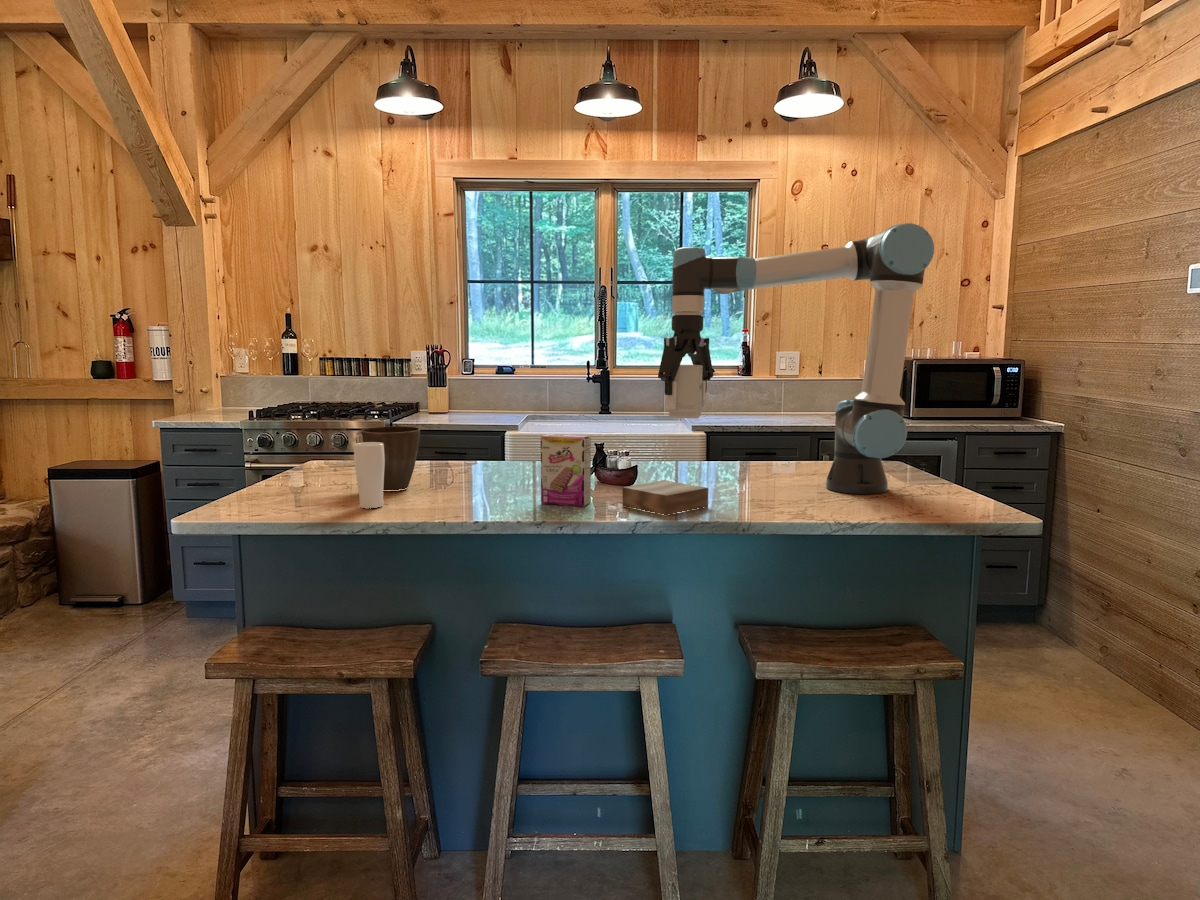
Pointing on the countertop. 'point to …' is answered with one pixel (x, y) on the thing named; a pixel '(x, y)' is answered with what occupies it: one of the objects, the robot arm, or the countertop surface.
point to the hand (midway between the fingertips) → (685, 407)
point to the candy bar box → (565, 469)
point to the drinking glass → (370, 473)
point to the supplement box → (688, 392)
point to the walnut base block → (665, 497)
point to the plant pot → (396, 452)
